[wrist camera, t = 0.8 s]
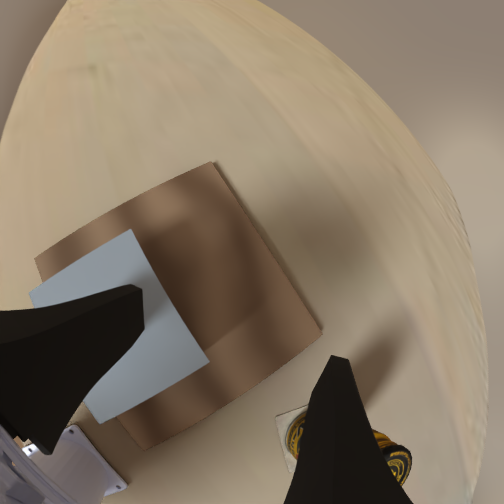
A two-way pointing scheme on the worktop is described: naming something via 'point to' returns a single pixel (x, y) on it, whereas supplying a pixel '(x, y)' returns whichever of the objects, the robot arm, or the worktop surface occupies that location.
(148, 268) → the cover
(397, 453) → the condiment
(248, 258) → the board
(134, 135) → the worktop surface
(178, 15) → the worktop surface
